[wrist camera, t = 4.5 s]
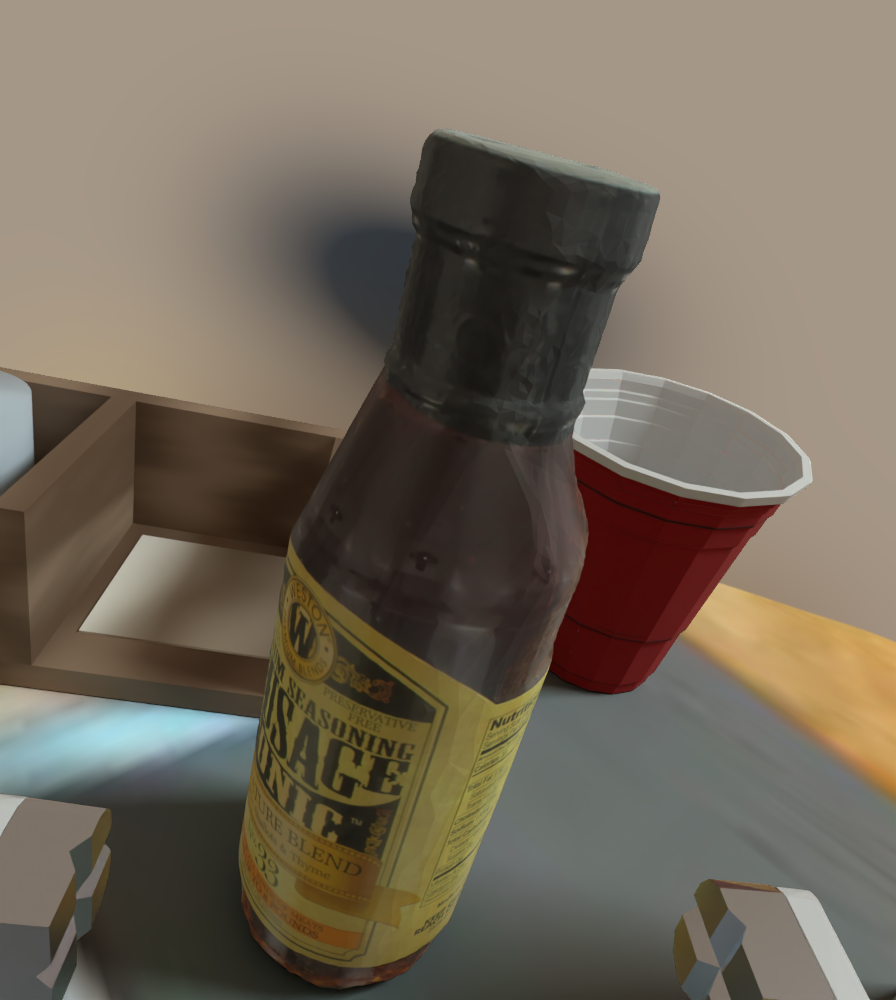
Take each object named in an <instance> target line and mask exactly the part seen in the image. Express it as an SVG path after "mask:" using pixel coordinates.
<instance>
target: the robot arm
mask: <svg viewBox="0 0 896 1000" xmlns="http://www.w3.org/2000/svg"><path fill="white" fill-rule="evenodd" d="M110 829H111V809H106V808H99V807H92V806H85V805H79V804H72V803H65V802H58V801H51V800H44V799H37V798H31V797H24V796H16V795H8V794H0V1000H62V999H63V996H64V994H65V992H66V989H67V987H68V984H69V982H70V980H71V977H72V975H73V972H74V970H75V968H76V965H77V940H78V939H79V938H81V937H82V936H83V935H84V934H86V933H87V932H88V931H89V930H91V928H92V926H93V923H94V921H95V918H96V916H97V913H98V911H99V908H100V905H101V902H102V899H103V895H104V892H105V888H106V885H107V881H108V876H109V870H110V864H111V850H110V849H109V847H108V846H107V845H106V844H105V841H106V838H107V836H108V834H109V831H110ZM694 896H695V899H696V902H697V905H698V906H697V907H695V908H693V909H692V910H690V911H688V912H686V913H685V914H683V915H682V917H681V919H680V921H679V923H678V925H677V927H676V929H675V937H674V948H673V953H674V961H675V968H676V972H677V975H678V979H679V982H680V986H681V988H682V989H683V990H684V992H685V993H686V994H687V995H688V996H689V997H690V999H691V1000H870V999H869V997H868V995H867V994H866V992H865V990H864V988H863V986H862V984H861V982H860V980H859V978H858V976H857V974H856V972H855V970H854V968H853V966H852V964H851V963H850V961H849V959H848V957H847V955H846V953H845V951H844V949H843V947H842V945H841V943H840V941H839V939H838V937H837V935H836V933H835V932H834V930H833V928H832V926H831V924H830V922H829V920H828V918H827V916H826V914H825V912H824V910H823V908H822V906H821V904H820V902H819V901H818V899H817V898H816V897H815V896H814V895H813V894H812V893H811V892H810V891H806V890H801V889H791V888H782V887H772V886H771V885H764V884H754V883H744V882H735V881H725V880H715V879H708V880H706V881H704V882H702V883H700V885H699V887H698V889H697V890H696V892H695V894H694Z"/></svg>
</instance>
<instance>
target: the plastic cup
mask: <svg viewBox="0 0 896 1000" xmlns="http://www.w3.org/2000/svg"><path fill="white" fill-rule="evenodd" d="M583 394H584V398H585V402H586V403H585V405H584V408H583V410H582V411H581V413H580V415H579V416H578V418H577V419H576V422H575V425H574V432H573V436H572V439H573V451H574V464H575V476H576V478H577V486H578V489H579V491H580V493H581V495H582V499H583V504H584V509H585V514H586V518H587V521H588V533H589V535H588V543H587V547H586V551H585V559H584V566H583V569H582V572H581V575H580V579H579V582H578V584H577V586H576V589H575V592H574V593H573V595H572V598H571V600H570V603H569V605H568V607H567V610H566V612H565V614H564V618H563V621H562V623H561V625H560V627H559V630H558V632H557V636H556V639H555V641H554V645H553V655H552V660H551V664H550V667H549V670H551V671H552V672H553V673H555V674H556V675H557V676H559V677H560V678H562V679H563V680H565V681H567V682H570V683H572V684H574V685H577V686H579V687H582V688H584V689H587V690H591V691H597V692H604V693H610V694H614V693H621V692H627V691H633V690H634V689H635V688H637V687H638V686H639V685H641V684H642V683H643V682H645V680H646V679H647V677H648V676H650V675H651V674H652V673H654V671H655V670H656V668H657V667H658V665H659V664H660V662H661V661H662V660H663V658H664V657H665V655H666V654H667V652H668V651H669V649H670V648H671V646H672V645H673V643H674V642H675V640H676V639H677V637H678V636H679V634H680V633H681V632H683V631H684V630H686V628H687V627H688V626H689V624H690V623H691V621H692V620H693V618H694V617H695V616H696V614H697V613H698V611H699V610H700V609H701V607H702V606H703V604H704V603H705V601H706V600H707V599H708V597H709V596H710V594H711V593H712V591H713V590H714V589H715V587H716V586H717V584H718V583H719V581H720V580H721V579H722V577H723V576H724V574H725V573H726V572H727V570H728V569H729V567H730V566H731V564H732V563H733V562H734V560H735V559H736V557H737V556H738V555H739V553H740V552H741V550H742V549H743V547H744V546H745V545H746V543H747V542H748V540H749V539H750V538H751V537H753V536H754V535H755V534H756V533H757V532H758V530H759V529H760V528H761V526H762V525H763V524H764V522H765V521H766V520H767V518H769V517H771V516H772V515H773V514H774V513H775V511H776V510H777V509H778V507H779V506H780V504H784V503H785V502H787V501H788V500H790V499H791V498H793V497H794V496H796V495H797V494H799V493H800V492H802V491H803V490H804V489H806V487H808V486H809V485H810V484H811V483H812V481H813V480H812V471H811V460H810V459H809V458H808V456H807V455H806V454H805V453H804V452H803V451H802V450H801V449H800V448H799V446H797V444H796V443H795V442H794V441H793V440H792V439H791V438H790V436H788V435H787V434H785V433H784V432H783V431H781V430H779V429H778V428H776V427H775V426H773V425H772V424H770V423H769V422H767V421H766V420H764V419H763V418H761V417H760V416H758V415H757V414H755V413H753V412H751V411H749V410H747V409H745V408H743V407H741V406H738V405H736V404H734V403H732V402H730V401H727V400H725V399H723V398H721V397H719V396H717V395H714V394H712V393H710V392H707V391H704V390H700V389H697V388H694V387H691V386H688V385H685V384H681V383H678V382H675V381H672V380H669V379H666V378H662V377H656V376H652V375H646V374H641V373H636V372H630V371H625V370H620V369H591V370H590V372H589V376H588V379H587V383H586V385H585V388H584V390H583Z"/></svg>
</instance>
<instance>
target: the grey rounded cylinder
mask: <svg viewBox="0 0 896 1000" xmlns="http://www.w3.org/2000/svg"><path fill="white" fill-rule="evenodd" d="M34 466H35V465H34V440H33V416H32V393H31V389H30V387H29V386H28V385H27V383H25V382H24V381H23V380H21V379H19V378H18V377H16V376H13V375H11V374H8V373H5V372H2V371H0V496H1V495H2V494H4V493H5V492H6V491H7V490H8V489H9V488H10V487H11V486H13V485H14V484H15V483H16V482H17V481H18V480H19V479H20V478H21V477H23V476H24V475H25V474H26V473H27V472H28V471H29V470H30V469H32V468H33V467H34Z"/></svg>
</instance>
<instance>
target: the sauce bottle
mask: <svg viewBox="0 0 896 1000" xmlns="http://www.w3.org/2000/svg"><path fill="white" fill-rule="evenodd" d="M659 200H660V194H659V191H658V190H657V189H656V188H654V187H652V186H650V185H648V184H645V183H642V182H639V181H636V180H633V179H631V178H628V177H625V176H623V175H620V174H617V173H615V172H612V171H609V170H605V169H602V168H599V167H596V166H590V165H587V164H583V163H580V162H576V161H571V160H567V159H563V158H560V157H557V156H552V155H550V154H547V153H544V152H538V151H533V150H530V149H527V148H524V147H520V146H515V145H511V144H507V143H504V142H502V141H497V140H492V139H488V138H485V137H481V136H476V135H472V134H468V133H463V132H459V131H456V130H452V129H437V130H435V131H434V132H433V133H432V134H430V135H429V137H428V138H427V139H426V141H425V143H424V146H423V149H422V154H421V160H420V165H419V169H418V171H417V176H416V183H415V186H414V188H413V190H412V194H411V197H410V203H411V209H412V221H413V222H412V223H413V225H414V228H415V230H416V239H415V241H414V243H413V245H412V256H411V258H410V260H409V266H408V268H407V271H406V280H405V284H404V292H403V295H402V299H401V302H400V307H399V316H398V320H397V323H396V329H395V333H394V337H393V343H392V345H391V347H390V348H389V349H388V351H387V352H386V356H385V359H384V363H385V366H384V368H383V369H382V371H381V373H380V375H379V376H378V378H377V380H376V382H375V383H374V385H373V387H372V388H371V390H370V392H369V394H368V396H367V397H366V399H365V401H364V403H363V404H362V406H361V408H360V410H359V411H358V413H357V415H356V417H355V419H354V420H353V422H352V424H351V426H350V427H349V429H348V431H347V433H346V434H345V436H344V438H343V440H342V442H341V443H340V445H339V447H338V449H337V451H336V452H335V454H334V456H333V458H332V459H331V461H330V463H329V465H328V467H327V468H326V470H325V472H324V474H323V476H322V477H321V479H320V481H319V483H318V484H317V486H316V488H315V490H314V492H313V493H312V495H311V497H310V499H309V501H308V502H307V504H306V506H305V508H304V509H303V511H302V513H301V515H300V517H299V518H298V520H297V522H296V524H295V526H294V527H293V529H292V531H291V534H290V540H289V546H288V552H287V557H286V561H285V565H284V575H283V582H282V586H281V590H280V596H279V605H278V613H277V618H276V623H275V628H274V636H273V641H272V646H271V650H270V659H269V663H268V672H267V676H266V679H265V688H264V696H263V702H262V709H261V714H260V719H259V725H258V730H257V737H256V745H255V751H254V758H253V764H252V770H251V776H250V782H249V788H248V793H247V799H246V806H245V813H244V819H243V825H242V830H241V836H240V844H239V868H240V875H241V884H242V898H241V904H242V907H243V910H244V914H245V917H246V919H247V920H248V922H249V927H250V931H251V935H252V937H253V938H254V939H255V940H256V941H257V942H259V944H260V946H261V947H262V948H263V949H264V950H265V951H266V952H267V953H268V954H269V955H270V956H271V957H272V958H273V959H274V960H275V961H276V962H278V963H280V964H281V965H282V966H283V967H285V968H286V969H287V970H288V971H289V972H290V973H295V974H297V975H299V976H301V977H302V978H303V979H304V980H305V981H307V982H310V983H312V984H314V985H316V986H318V987H329V988H337V989H339V990H340V989H344V988H350V987H353V986H358V985H365V984H367V985H368V984H373V983H377V982H380V981H387V980H390V979H392V978H394V977H396V976H397V975H400V974H403V973H405V972H406V971H407V970H409V969H410V968H411V967H412V966H413V964H414V963H415V962H416V961H417V960H418V959H419V958H420V957H421V956H422V954H423V953H425V952H426V951H427V950H428V947H429V945H430V943H431V942H432V941H433V939H434V938H435V936H436V935H437V934H438V933H439V932H440V931H441V930H442V929H443V927H444V926H445V925H446V924H447V923H448V922H449V920H450V917H451V915H452V913H453V910H454V908H455V906H456V903H457V901H458V898H459V896H460V893H461V891H462V888H463V886H464V883H465V881H466V878H467V876H468V873H469V871H470V868H471V866H472V863H473V861H474V858H475V856H476V853H477V851H478V848H479V846H480V843H481V840H482V838H483V835H484V832H485V830H486V828H487V825H488V823H489V821H490V818H491V816H492V813H493V811H494V808H495V806H496V803H497V801H498V798H499V796H500V793H501V791H502V788H503V785H504V783H505V780H506V778H507V775H508V773H509V770H510V767H511V765H512V762H513V760H514V757H515V754H516V752H517V749H518V747H519V744H520V742H521V739H522V736H523V734H524V731H525V729H526V726H527V723H528V721H529V718H530V716H531V713H532V710H533V708H534V705H535V702H536V700H537V697H538V695H539V692H540V690H541V687H542V685H543V682H544V680H545V677H546V675H547V672H548V670H549V667H550V664H551V660H552V655H553V645H554V641H555V639H556V636H557V632H558V630H559V627H560V625H561V623H562V621H563V618H564V614H565V612H566V610H567V607H568V605H569V603H570V600H571V598H572V595H573V593H574V592H575V589H576V586H577V584H578V582H579V579H580V575H581V572H582V569H583V566H584V559H585V551H586V547H587V543H588V535H589V533H588V521H587V518H586V514H585V509H584V504H583V499H582V495H581V493H580V491H579V489H578V486H577V478H576V476H575V464H574V451H573V439H572V436H573V432H574V425H575V422H576V419H577V418H578V416H579V415H580V413H581V411H582V410H583V408H584V405H585V403H586V402H585V398H584V394H583V390H584V388H585V385H586V383H587V379H588V376H589V372H590V370H591V367H592V364H593V361H594V357H595V354H596V352H597V349H598V347H599V344H600V340H601V337H602V334H603V331H604V329H605V326H606V323H607V320H608V317H609V314H610V311H611V308H612V305H613V302H614V299H615V295H616V292H617V290H618V289H619V287H620V285H621V284H622V283H623V282H624V281H625V280H626V278H627V277H628V276H629V275H630V274H631V273H632V271H633V270H634V269H635V268H636V267H637V265H638V264H639V263H640V261H641V259H642V255H643V252H644V249H645V246H646V244H647V241H648V239H649V236H650V231H651V228H652V224H653V220H654V217H655V214H656V210H657V208H658V204H659Z"/></svg>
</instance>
